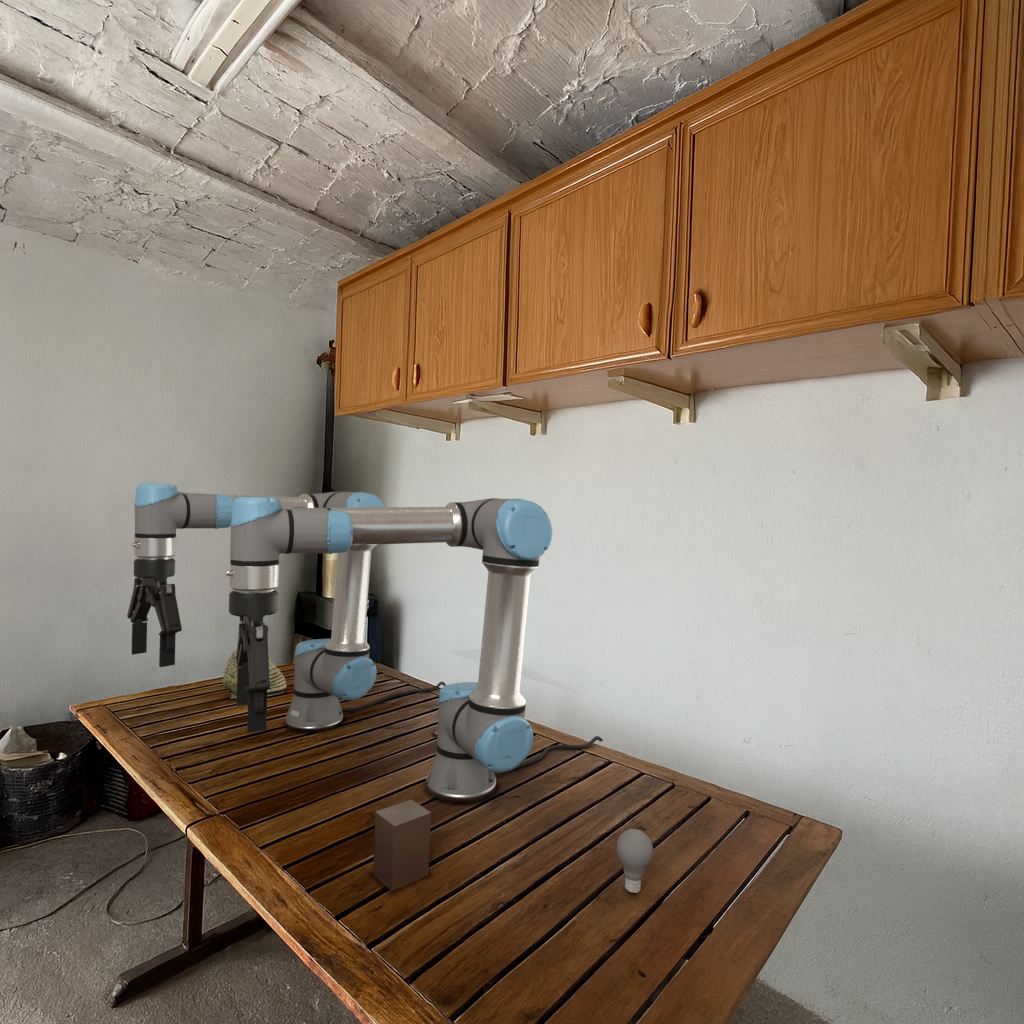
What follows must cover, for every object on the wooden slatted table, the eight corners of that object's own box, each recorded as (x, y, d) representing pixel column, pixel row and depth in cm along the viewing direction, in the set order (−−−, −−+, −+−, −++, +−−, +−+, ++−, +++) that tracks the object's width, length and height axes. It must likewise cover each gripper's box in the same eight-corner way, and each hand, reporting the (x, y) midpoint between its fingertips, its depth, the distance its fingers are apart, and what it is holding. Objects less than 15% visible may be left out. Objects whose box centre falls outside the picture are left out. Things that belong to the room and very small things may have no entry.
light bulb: (610, 879, 108) (613, 822, 108) (644, 879, 109) (647, 822, 109) (619, 902, 102) (622, 840, 102) (655, 901, 103) (658, 840, 103)
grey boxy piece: (372, 874, 107) (375, 811, 107) (409, 859, 112) (411, 799, 112) (391, 891, 103) (394, 825, 103) (428, 875, 108) (431, 812, 107)
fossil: (218, 695, 195) (220, 647, 195) (278, 685, 208) (279, 640, 207) (228, 703, 189) (230, 653, 188) (289, 692, 201) (290, 645, 201)
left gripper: (111, 553, 136) (109, 651, 137) (162, 564, 121) (159, 675, 121) (148, 551, 142) (146, 645, 143) (201, 562, 126) (199, 667, 127)
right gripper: (221, 580, 114) (218, 697, 114) (239, 603, 92) (235, 747, 93) (265, 579, 118) (262, 692, 118) (292, 600, 96) (288, 739, 96)
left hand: (152, 659), depth 132 cm, fingers open, 13 cm apart
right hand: (250, 717), depth 105 cm, fingers open, 13 cm apart
